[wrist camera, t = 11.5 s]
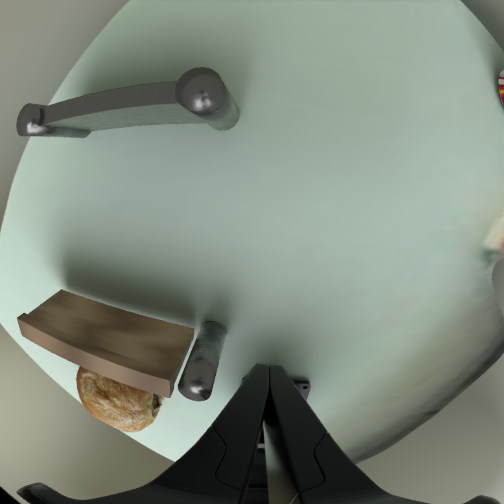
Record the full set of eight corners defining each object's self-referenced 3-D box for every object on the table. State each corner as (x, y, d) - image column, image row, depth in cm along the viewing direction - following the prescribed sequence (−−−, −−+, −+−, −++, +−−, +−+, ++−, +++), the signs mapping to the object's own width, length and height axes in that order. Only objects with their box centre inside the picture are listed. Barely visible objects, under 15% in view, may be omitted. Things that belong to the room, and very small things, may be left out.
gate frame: (225, 343, 22) (211, 403, 16) (87, 318, 23) (48, 357, 16) (240, 101, 17) (224, 66, 10) (76, 115, 17) (18, 107, 10)
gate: (194, 324, 21) (169, 380, 15) (193, 341, 22) (169, 398, 15) (61, 285, 21) (16, 317, 15) (63, 301, 22) (22, 335, 15)
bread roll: (171, 391, 30) (182, 437, 23) (102, 408, 27) (100, 453, 20) (141, 328, 27) (143, 371, 20) (65, 349, 24) (49, 391, 17)
